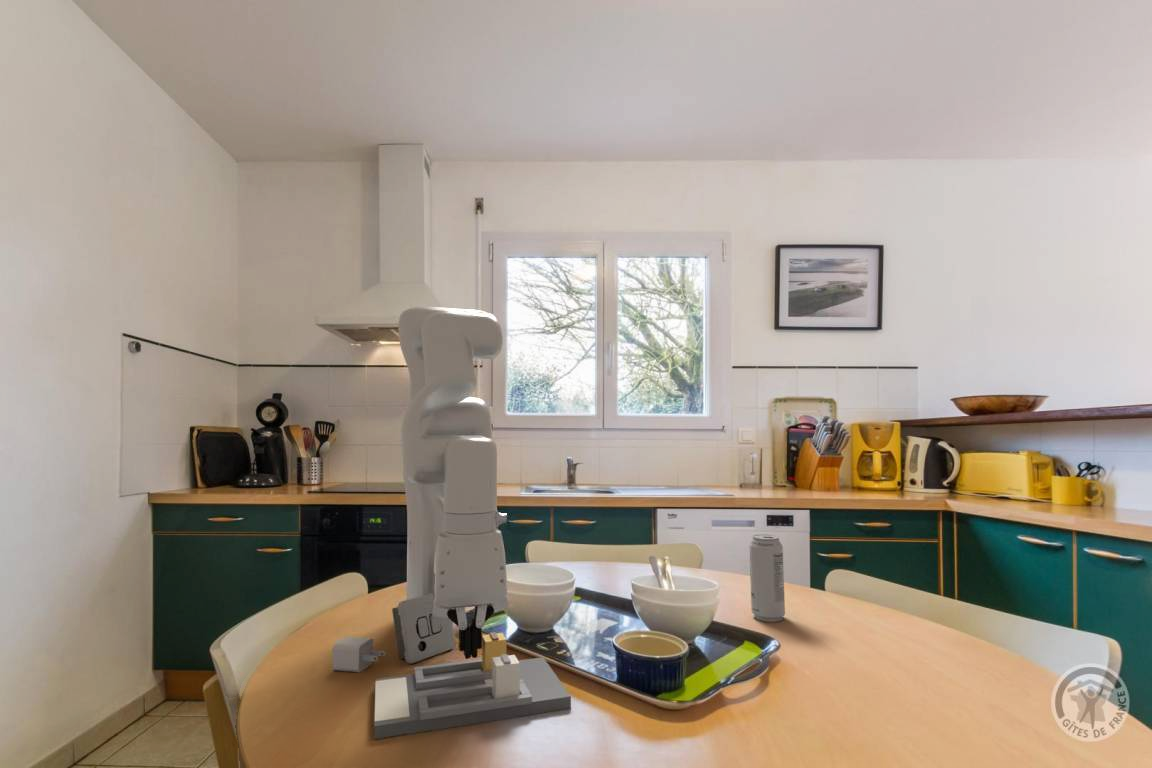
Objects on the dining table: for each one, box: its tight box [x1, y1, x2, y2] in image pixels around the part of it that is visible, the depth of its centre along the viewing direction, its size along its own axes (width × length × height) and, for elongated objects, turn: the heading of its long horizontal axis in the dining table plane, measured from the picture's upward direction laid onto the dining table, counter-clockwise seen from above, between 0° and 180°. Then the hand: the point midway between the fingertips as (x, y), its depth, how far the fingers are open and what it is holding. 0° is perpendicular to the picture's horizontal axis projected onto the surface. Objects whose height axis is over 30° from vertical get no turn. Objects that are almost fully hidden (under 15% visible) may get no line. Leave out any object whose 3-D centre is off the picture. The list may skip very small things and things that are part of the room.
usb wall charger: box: [331, 636, 386, 673], centre depth 92 cm, size 4×7×4 cm, turn 78°
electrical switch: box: [391, 593, 457, 665], centre depth 98 cm, size 9×5×9 cm, turn 141°
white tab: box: [492, 653, 520, 699], centre depth 78 cm, size 3×3×5 cm
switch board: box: [373, 654, 572, 740], centre depth 81 cm, size 15×24×2 cm, turn 108°
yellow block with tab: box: [481, 631, 507, 671], centre depth 86 cm, size 3×3×5 cm
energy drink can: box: [749, 534, 786, 623], centre depth 114 cm, size 6×6×15 cm
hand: (470, 654), depth 85 cm, fingers closed
